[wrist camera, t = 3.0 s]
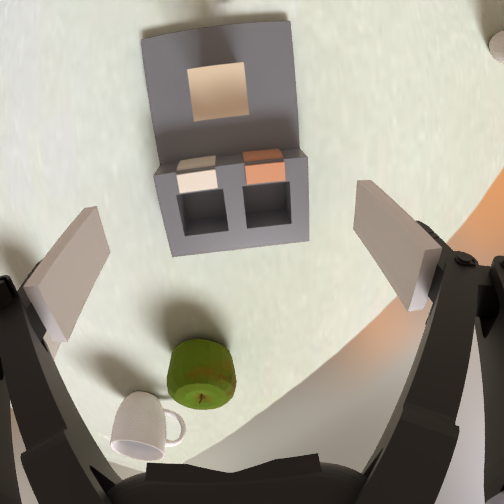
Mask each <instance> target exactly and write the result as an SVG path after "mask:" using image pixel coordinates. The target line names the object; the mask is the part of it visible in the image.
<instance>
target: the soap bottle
mask: <svg viewBox="0 0 504 504" xmlns="http://www.w3.org/2000/svg"><path fill="white" fill-rule="evenodd" d="M489 49H490V52H491V55H492V56H493V58H494V59H495V60H497V61H498V62H501V63H504V30H502V31H500V32H498V33H496V34H495V35H494V36H493V37H492V38H491V40H490V42H489Z"/></svg>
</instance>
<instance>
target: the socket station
mask: <svg viewBox="0 0 504 504" xmlns="http://www.w3.org/2000/svg"><path fill="white" fill-rule="evenodd" d="M141 46H142V54H143V62H144V69H145V77H146V84H147V90H148V97H149V103H150V110H151V116H152V122H153V127H154V133H155V139H156V144H157V150H158V155H159V160H160V166H159V168H158V169H157V171H156V172H155V174H154V176H153V177H154V182H155V187H156V191H157V196H158V200H159V205H160V209H161V213H162V217H163V222H164V226H165V230H166V234H167V238H168V242H169V246H170V250H171V254H172V257H177V256H186V255H194V254H202V253H211V252H219V251H228V250H236V249H245V248H253V247H262V246H271V245H279V244H288V243H296V242H305V241H309V181H308V157H307V156H306V155H305V154H304V153H303V151H302V150H301V149H300V146H299V127H298V110H297V94H296V81H295V68H294V56H293V44H292V34H291V23H290V21H272V22H253V23H240V24H229V25H220V26H212V27H205V28H198V29H191V30H185V31H180V32H174V33H169V34H164V35H159V36H155V37H150V38H146V39H142V40H141ZM240 62H244V69H245V78H246V88H247V98H248V108H249V115H241V116H232V117H224V118H216V119H209V120H201V121H195V122H194V118H193V111H192V103H191V96H190V88H189V81H188V73H187V69H193V68H199V67H206V66H213V65H221V64H230V63H240Z"/></svg>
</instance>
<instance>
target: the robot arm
mask: <svg viewBox="0 0 504 504" xmlns="http://www.w3.org/2000/svg"><path fill="white" fill-rule="evenodd" d="M353 229H354V231H355V232H356V234H357V235H358V237H359V238H360V239H361V241H362V242H363V244H364V245H365V247H366V248H367V250H368V251H369V252H370V254H371V255H372V257H373V258H374V260H375V261H376V263H377V264H378V266H379V267H380V269H381V270H382V272H383V273H384V275H385V276H386V278H387V279H388V281H389V283H390V284H391V286H392V287H393V289H394V290H395V292H396V293H397V295H398V297H399V298H400V300H401V301H402V303H403V305H404V306H405V308H406V309H407V311H408V312H410V311H415V310H420V309H424V308H425V304H426V302H427V299H428V296H429V298H430V299H431V301H432V302H433V305H432V307H431V310H430V313H429V316H428V318H427V321H426V327H425V330H424V333H423V336H422V339H421V343H420V345H419V349H418V351H417V354H416V357H415V360H414V362H413V365H412V368H411V370H410V373H409V376H408V378H407V381H406V384H405V386H404V388H403V391H402V393H401V396H400V398H399V400H398V403H397V405H396V407H395V410H394V412H393V414H392V416H391V418H390V421H389V423H388V425H387V427H386V429H385V431H384V433H383V435H382V438H381V439H380V441H379V444H378V445H377V447H376V449H375V451H374V453H373V455H372V456H371V458H370V460H369V461H368V463H367V465H366V467H365V468H364V470H363V472H362V473H359V472H357V471H355V470H353V469H350V468H348V467H345V466H341V465H337V464H331V463H321V462H320V461H319V456H318V454H310V455H304V456H298V457H290V458H283V459H275V460H272V461H269V462H266V463H263V464H261V465H257V466H254V467H251V468H248V469H244V470H241V471H238V472H234V473H226V472H220V471H215V470H210V469H206V468H201V467H197V466H192V465H188V464H164V463H147V468H146V472H145V473H141V474H137V475H134V476H132V477H129V478H127V479H125V480H122V479H121V478H120V477H119V476H118V475H117V474H116V473H115V471H114V470H113V469H112V467H111V466H110V465H109V463H108V461H107V460H106V458H105V457H104V455H103V454H102V452H101V450H100V449H99V447H98V446H97V444H96V442H95V441H94V439H93V437H92V435H91V434H90V432H89V430H88V429H87V427H86V425H85V423H84V421H83V420H82V418H81V416H80V414H79V412H78V410H77V408H76V407H75V405H74V403H73V401H72V399H71V397H70V395H69V393H68V391H67V389H66V386H65V384H64V382H63V380H62V378H61V376H60V374H59V371H58V369H57V367H56V365H55V362H54V360H53V357H52V355H51V353H50V350H49V348H48V345H47V343H46V342H45V340H44V338H43V337H44V335H45V333H46V331H47V333H48V334H49V336H50V338H51V339H52V341H53V342H68V340H69V338H70V335H71V333H72V331H73V328H74V326H75V324H76V322H77V319H78V317H79V315H80V313H81V311H82V308H83V306H84V304H85V302H86V300H87V298H88V296H89V294H90V292H91V289H92V287H93V285H94V283H95V281H96V279H97V277H98V275H99V273H100V271H101V269H102V268H103V266H104V264H105V262H106V260H107V258H108V256H109V254H110V249H109V246H108V243H107V240H106V236H105V233H104V230H103V226H102V223H101V219H100V216H99V212H98V209H97V206H95V207H89V208H84V209H83V210H82V211H81V213H80V214H79V215H78V216H77V217H76V218H75V220H74V221H73V222H72V223H71V224H70V226H69V227H68V228H67V229H66V230H65V232H64V233H63V234H62V235H61V237H60V238H59V239H58V240H57V242H56V243H55V244H54V245H53V247H52V248H51V249H50V251H49V252H48V253H47V254H46V256H45V257H44V258H43V259H42V260H41V261H40V262H39V263H37V264H36V266H35V267H34V268H33V270H32V272H31V273H30V274H29V275H28V278H26V280H25V281H24V282H23V284H22V285H21V287H20V288H19V290H18V291H17V290H16V288H15V286H14V284H13V282H12V280H11V278H10V277H9V276H7V275H4V276H0V504H22V503H21V498H20V493H19V487H18V482H17V476H16V469H15V462H14V453H13V445H12V432H11V415H10V400H11V404H12V407H13V411H14V414H15V417H16V420H17V424H18V427H19V430H20V433H21V436H22V438H23V441H24V444H25V447H26V451H25V452H23V453H22V454H21V462H22V465H23V468H24V470H25V473H26V475H27V478H28V480H29V483H30V485H31V487H32V490H33V491H34V494H35V496H36V498H37V501H38V503H39V504H434V503H435V501H436V498H437V496H438V494H439V491H440V489H441V486H442V484H443V481H444V478H445V476H446V473H447V470H448V467H449V465H450V462H451V459H452V456H453V452H454V449H455V446H456V443H457V439H458V435H459V426H456V425H455V421H456V417H457V413H458V409H459V405H460V401H461V397H462V392H463V388H464V384H465V379H466V374H467V369H468V364H469V358H470V352H471V345H472V339H473V332H474V324H475V329H476V335H477V341H478V348H479V354H480V363H481V372H482V382H483V394H484V412H485V464H484V496H485V504H504V256H496V257H495V258H494V259H493V262H492V264H491V266H481V265H479V264H478V261H477V260H476V259H475V258H474V257H473V256H471V255H469V254H467V253H465V252H460V251H453V250H452V249H451V248H450V247H449V246H448V245H447V244H446V243H445V242H444V241H443V240H442V239H441V238H439V236H438V235H437V234H436V233H434V231H433V230H432V229H431V228H430V227H429V226H427V225H425V224H424V223H422V222H420V221H415V220H414V219H413V218H412V217H411V216H410V215H409V214H408V213H407V212H406V211H405V210H403V209H402V208H401V207H400V206H399V205H398V204H397V203H396V202H395V201H394V200H393V199H392V198H390V197H389V196H388V195H387V194H386V193H385V192H384V191H383V190H382V189H380V188H379V187H378V186H377V185H376V184H375V183H374V182H372V181H371V180H358V181H357V190H356V204H355V216H354V227H353Z"/></svg>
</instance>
